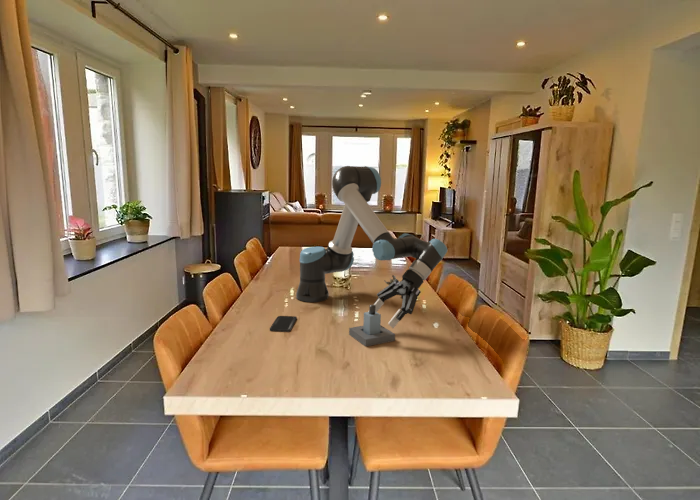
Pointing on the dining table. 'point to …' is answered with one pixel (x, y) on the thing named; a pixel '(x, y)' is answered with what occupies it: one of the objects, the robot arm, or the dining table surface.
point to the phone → (283, 323)
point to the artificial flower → (391, 282)
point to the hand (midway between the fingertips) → (380, 319)
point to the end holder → (371, 336)
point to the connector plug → (372, 321)
